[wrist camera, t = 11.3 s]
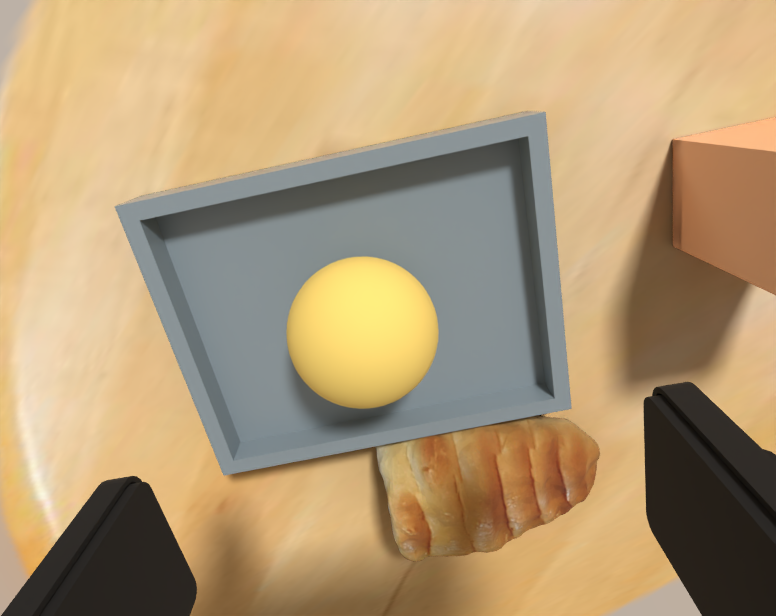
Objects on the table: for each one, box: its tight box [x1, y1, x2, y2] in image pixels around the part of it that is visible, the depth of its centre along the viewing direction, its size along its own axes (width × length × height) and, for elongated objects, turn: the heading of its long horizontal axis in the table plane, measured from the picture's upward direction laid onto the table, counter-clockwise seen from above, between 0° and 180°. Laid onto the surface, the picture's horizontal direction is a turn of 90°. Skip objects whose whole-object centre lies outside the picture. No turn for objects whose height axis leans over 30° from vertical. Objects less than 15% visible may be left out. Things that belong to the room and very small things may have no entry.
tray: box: [115, 111, 571, 475], centre depth 19 cm, size 14×11×2 cm
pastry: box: [376, 416, 600, 562], centre depth 22 cm, size 9×7×4 cm
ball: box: [286, 257, 439, 409], centre depth 17 cm, size 5×5×5 cm
